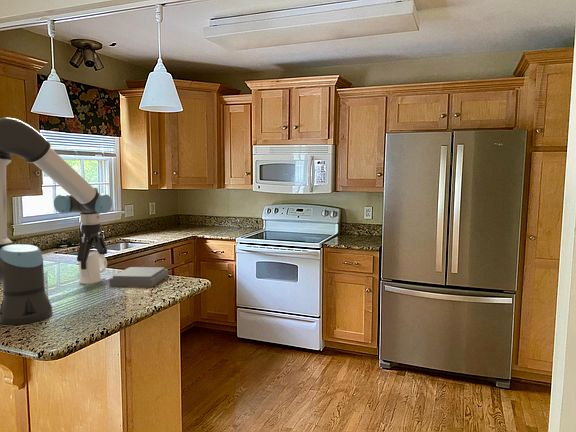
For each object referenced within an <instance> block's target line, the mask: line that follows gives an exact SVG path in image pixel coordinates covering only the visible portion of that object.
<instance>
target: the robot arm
mask: <svg viewBox="0 0 576 432" xmlns="http://www.w3.org/2000/svg"><path fill="white" fill-rule="evenodd" d="M51 145H52V144H51V142H50V141H49V140H47V138H45V136H43V135H42V133H40V132H39V131H38V130H37V129H35V128H33V127H32V126H31V125H29V124H28V123H25V122H23V121H22V120H19V119H17V118H13V117H0V285H2V293H3V294H2V295H3V297H2V300H1V305H0V324H2V325H10V326H11V325H12V326H14V325H15V326H16V325H25V324H30V323H36V322H38V321H39V322H40V321H42V320H44V319H47V318H49V317H51V316H52V314H53V306H52V304H51V302H50V299H49V297H48V295H47V293H46V291H45V274H44V273H45V272H44V258H43V253H42V250H41V248H40V247H38V246H36V245H33V244H26V243H25V244H19V243H18V244H17V243H16V244H13V241H12V240H11V239H9V237H8V227H7V226H8V222H7V219H8V218H7V215H8V213H7V166H8V165H9V164H10V163H11V162H12V155H14V156H17V157H20V158H21V159H23V160H24V161H25V162H27V163H28V164H33V165H35V166H36V167H37V168H39V169H40V171H42V173H44V174H45V175H47V177H49V178H50V179H51V180H52V181H54V182H55V183H56V184H57V185H58V186H59V187H60V188H62V189H63V190H64V191H65V192H67V193H62V194H58V195H56V196H55V197H54V200H53V207H54V210H56V212H57V213H60V214H69V213H80V223H81V225H80V226H81V228H80V229H81V233H82V234H83V235H84V237H83V236H81V237H80V238H79V246H78V247H79V248H78V252H77V258H76V261H77V262H78V263H79V262H81V272H82V277H89V268H88V261H87V258H88V255H89V252H91V249H92V248H93V246H94V248H95V250H96V252H98V253H99V255H102V256H103V257H105V255H107V253H108V248H107V245H106V242H105V239H104V234H103V232H101V231H102V229H101V228H102V226H101V223H100V222H101V214H107V213H108V212H110V211H111V210H112V207H113V200H112V197H111V196H110V194H106V193H100V192H99V188H98V187H95V186H93V185H91V184H90V183H89V182H88V181H87V180H86V179H85V178H84V177H82V176H81V175H80V173H78V171H76V170H75V169H74V168H73V167H72V166H71V165H70V164H69V163H67V162H66V161H65V160H64V159H63V158H62V157H61V156H60V155H59V154H58V153H57V152H56V151H55V150H54V149H53V148H52V147H51ZM105 258H106V257H105ZM99 262H100V270H103V269H104V268H105V265H106V261H105V260H104V259H103V258H101V257H99Z"/></svg>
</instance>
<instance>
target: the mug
mask: <svg viewBox="0 0 576 432" xmlns="http://www.w3.org/2000/svg"><path fill="white" fill-rule="evenodd" d="M99 257H101V258H103V259H104V260H105V268H104V269H100V262H99ZM87 261H88V268H89V277H82V272H81V262H78V271H79V283H80V284H83V285H90V284H96V283H99V282H101V281H102V277H101V274H102V273H103V272H104V271H106V270H107V267H108V261H107V258H106V257H103V256H102V255H99V253H98V251H90V252H89V255H88V258H87Z"/></svg>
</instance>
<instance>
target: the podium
mask: <svg viewBox="0 0 576 432" xmlns="http://www.w3.org/2000/svg"><path fill="white" fill-rule="evenodd" d="M167 277H169V268H165V267H162V266H161V267H160V266H159V267H157V266H156V267H152V266H151V267H150V266H146V267H145V266H129V267H127V268H125V269H124V270H122V271H120V272H118V273H116V274H114V275H112V277H110V278H109V287H138V288H139V287H142V288H143V287H146V288H148V287H149V288H150V287H151V288H152V287H154V286H156V285H157V284H159V283H160V282H162V281H163V280H164V279H167Z"/></svg>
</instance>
